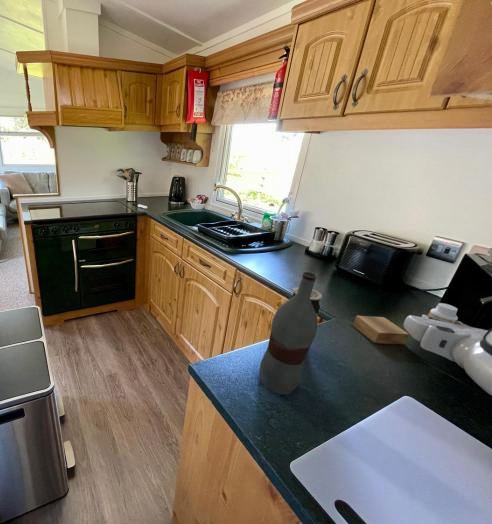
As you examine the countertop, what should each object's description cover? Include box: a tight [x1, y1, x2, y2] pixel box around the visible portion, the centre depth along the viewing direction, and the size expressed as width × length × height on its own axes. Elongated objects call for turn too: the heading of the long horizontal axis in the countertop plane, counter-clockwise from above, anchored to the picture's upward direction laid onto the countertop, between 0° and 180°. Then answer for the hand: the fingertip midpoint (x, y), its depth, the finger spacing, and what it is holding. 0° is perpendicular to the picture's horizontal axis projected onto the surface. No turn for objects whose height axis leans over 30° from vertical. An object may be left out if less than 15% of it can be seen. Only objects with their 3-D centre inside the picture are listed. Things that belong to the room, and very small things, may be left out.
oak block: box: [352, 315, 410, 345], centre depth 96 cm, size 10×10×4 cm
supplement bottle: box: [428, 302, 459, 324], centre depth 82 cm, size 6×6×10 cm
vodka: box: [258, 271, 318, 396], centre depth 67 cm, size 9×9×30 cm
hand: (439, 319), depth 82 cm, fingers closed on supplement bottle, 5 cm apart
